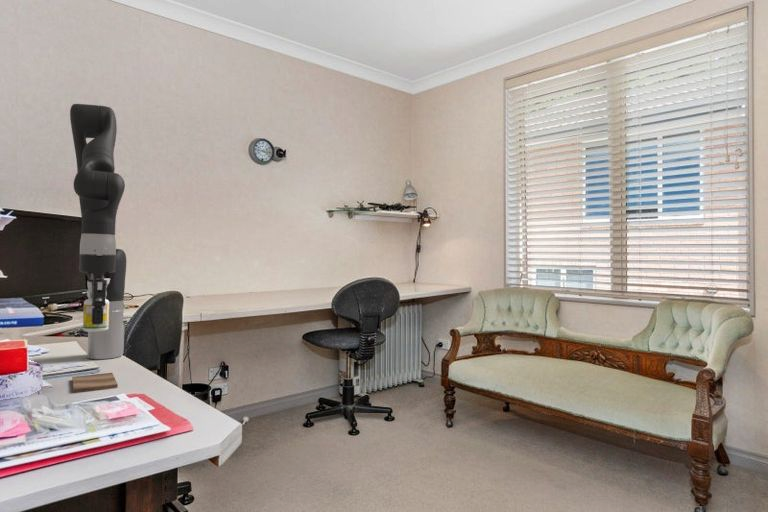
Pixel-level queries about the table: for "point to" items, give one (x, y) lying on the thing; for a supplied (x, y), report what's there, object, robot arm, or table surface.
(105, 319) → the supplement bottle
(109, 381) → the walnut mat
